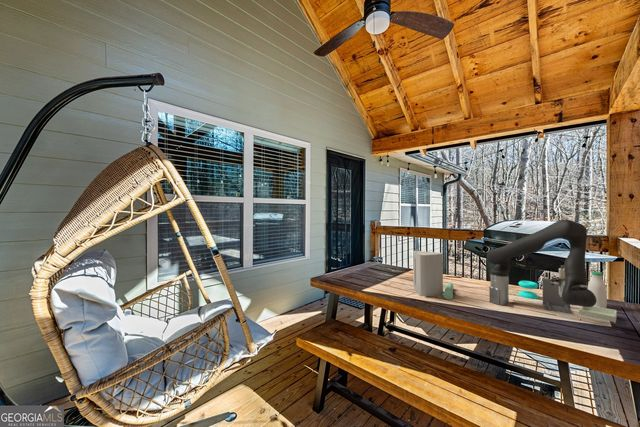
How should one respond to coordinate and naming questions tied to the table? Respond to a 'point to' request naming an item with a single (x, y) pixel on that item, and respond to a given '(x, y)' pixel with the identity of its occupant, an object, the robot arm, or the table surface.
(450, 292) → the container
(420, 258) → the tall grey box
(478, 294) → the table surface
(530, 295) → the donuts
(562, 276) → the grey tall block
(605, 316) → the waste tray
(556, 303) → the printer bay
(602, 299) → the milk bottle
